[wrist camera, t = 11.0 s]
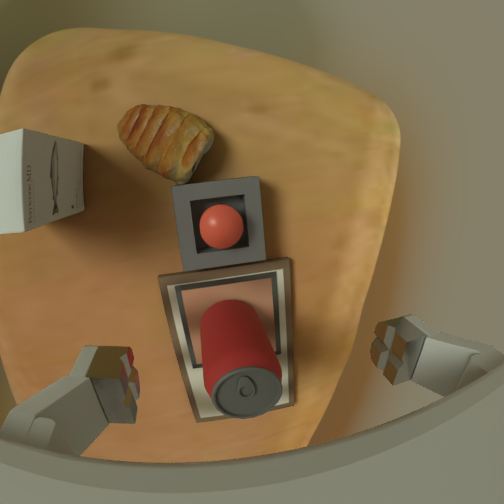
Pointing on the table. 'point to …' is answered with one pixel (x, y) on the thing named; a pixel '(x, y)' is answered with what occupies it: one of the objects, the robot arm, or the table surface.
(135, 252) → the table surface
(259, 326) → the beer can
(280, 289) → the picture board
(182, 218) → the button base
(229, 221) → the button
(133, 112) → the pastry
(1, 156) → the supplement box
